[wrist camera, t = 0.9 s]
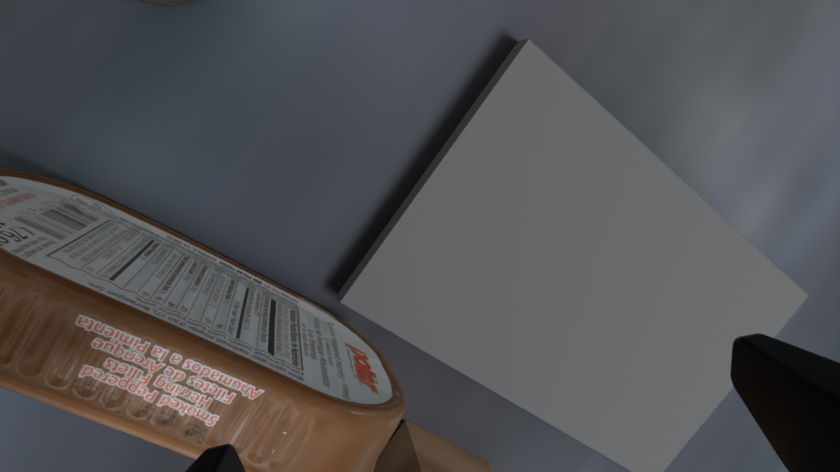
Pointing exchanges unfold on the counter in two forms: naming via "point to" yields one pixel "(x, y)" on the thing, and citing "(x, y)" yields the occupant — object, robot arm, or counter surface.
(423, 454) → the walnut block
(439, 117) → the counter surface
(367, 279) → the mat
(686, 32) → the counter surface
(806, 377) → the robot arm
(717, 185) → the counter surface
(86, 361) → the tin
